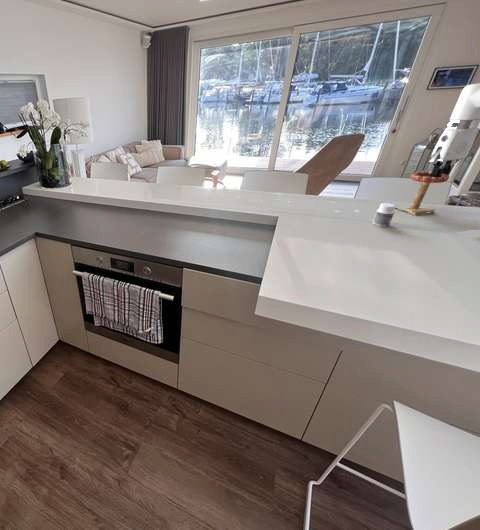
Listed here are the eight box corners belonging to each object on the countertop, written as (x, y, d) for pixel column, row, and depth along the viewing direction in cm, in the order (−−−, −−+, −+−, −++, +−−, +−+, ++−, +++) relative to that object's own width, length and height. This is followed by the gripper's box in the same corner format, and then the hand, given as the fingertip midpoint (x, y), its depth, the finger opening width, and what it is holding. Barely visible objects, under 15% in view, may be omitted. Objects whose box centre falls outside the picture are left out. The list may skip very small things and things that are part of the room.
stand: (434, 212, 112) (451, 178, 105) (414, 215, 111) (430, 181, 104) (412, 205, 119) (426, 173, 112) (393, 208, 118) (406, 176, 112)
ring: (455, 181, 105) (458, 175, 104) (430, 185, 104) (432, 179, 103) (425, 174, 113) (427, 169, 112) (401, 178, 113) (404, 173, 112)
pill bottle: (388, 230, 102) (398, 207, 98) (372, 228, 105) (380, 206, 100) (387, 225, 106) (396, 203, 102) (370, 223, 108) (378, 202, 104)
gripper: (454, 128, 96) (429, 183, 105) (496, 123, 97) (468, 177, 106) (430, 126, 102) (408, 178, 111) (469, 121, 104) (445, 173, 113)
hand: (437, 177), depth 109 cm, fingers closed on ring, 2 cm apart
